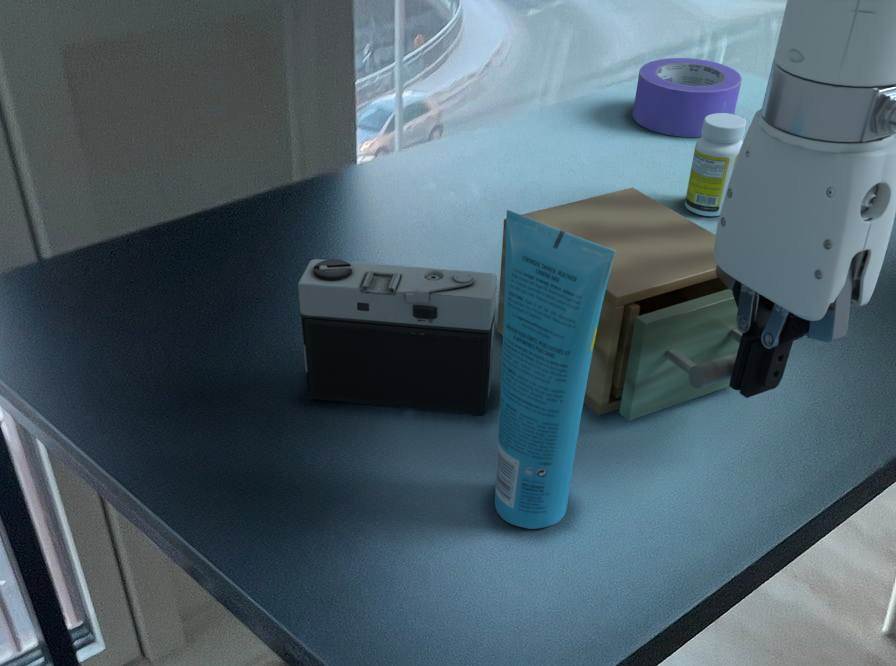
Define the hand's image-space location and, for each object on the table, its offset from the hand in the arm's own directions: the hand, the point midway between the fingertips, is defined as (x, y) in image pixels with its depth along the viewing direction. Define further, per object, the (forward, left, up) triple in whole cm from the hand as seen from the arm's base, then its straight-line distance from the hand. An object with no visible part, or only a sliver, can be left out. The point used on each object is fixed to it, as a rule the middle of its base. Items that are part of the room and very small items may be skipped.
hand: (753, 387), depth 70 cm
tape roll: (-40, -55, -5) cm, 68 cm away
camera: (+17, -20, -5) cm, 26 cm away
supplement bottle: (-26, -34, -5) cm, 43 cm away
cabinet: (0, -16, -5) cm, 17 cm away
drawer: (0, -10, -4) cm, 11 cm away
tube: (+17, -2, -5) cm, 18 cm away
